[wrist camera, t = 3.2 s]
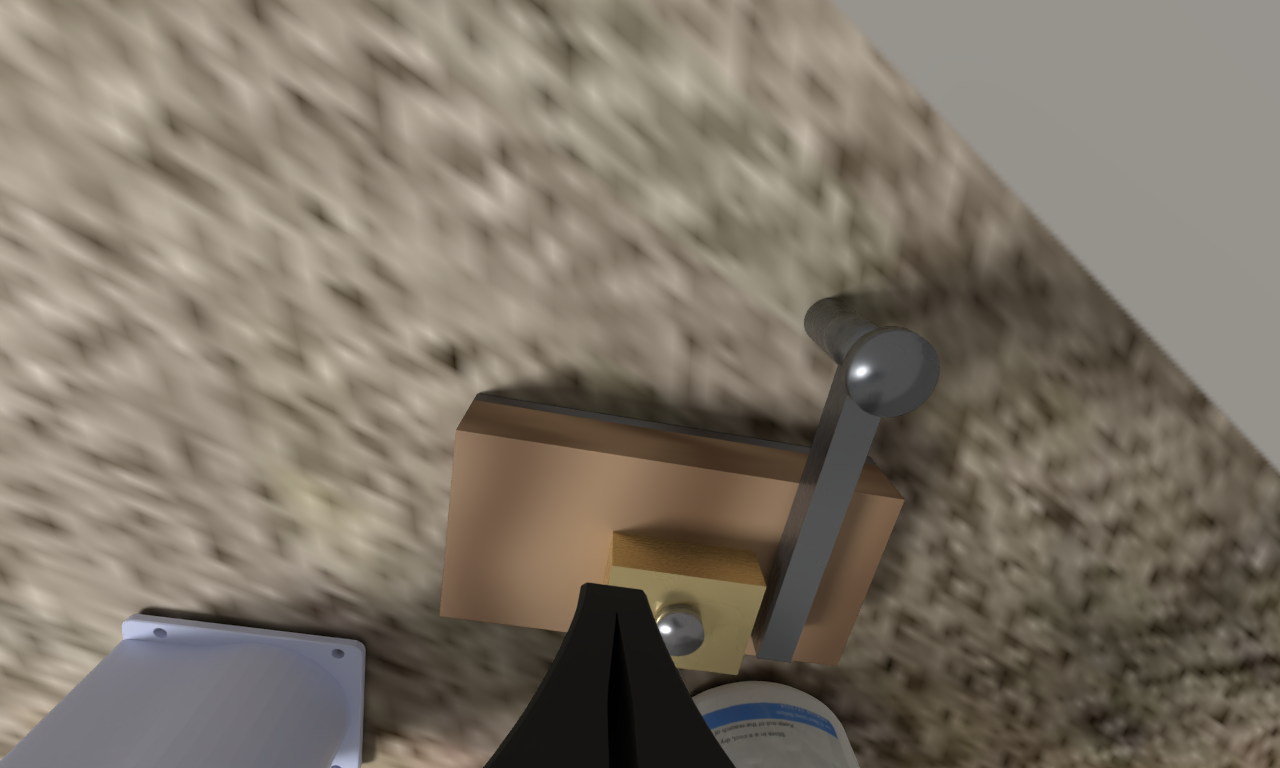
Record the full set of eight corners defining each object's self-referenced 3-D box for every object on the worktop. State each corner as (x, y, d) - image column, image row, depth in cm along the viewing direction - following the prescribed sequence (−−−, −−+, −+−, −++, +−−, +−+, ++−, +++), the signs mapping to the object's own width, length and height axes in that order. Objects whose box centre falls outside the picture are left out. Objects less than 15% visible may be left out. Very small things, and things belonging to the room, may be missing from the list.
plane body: (460, 562, 24) (439, 616, 21) (477, 393, 21) (455, 429, 19) (813, 609, 26) (837, 665, 23) (870, 456, 23) (904, 499, 20)
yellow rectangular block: (594, 618, 22) (591, 672, 19) (612, 531, 20) (612, 578, 18) (728, 635, 22) (740, 690, 20) (754, 551, 21) (770, 600, 18)
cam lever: (719, 569, 25) (745, 679, 20) (804, 281, 20) (865, 325, 15) (775, 576, 25) (815, 687, 20) (870, 293, 21) (953, 341, 15)
